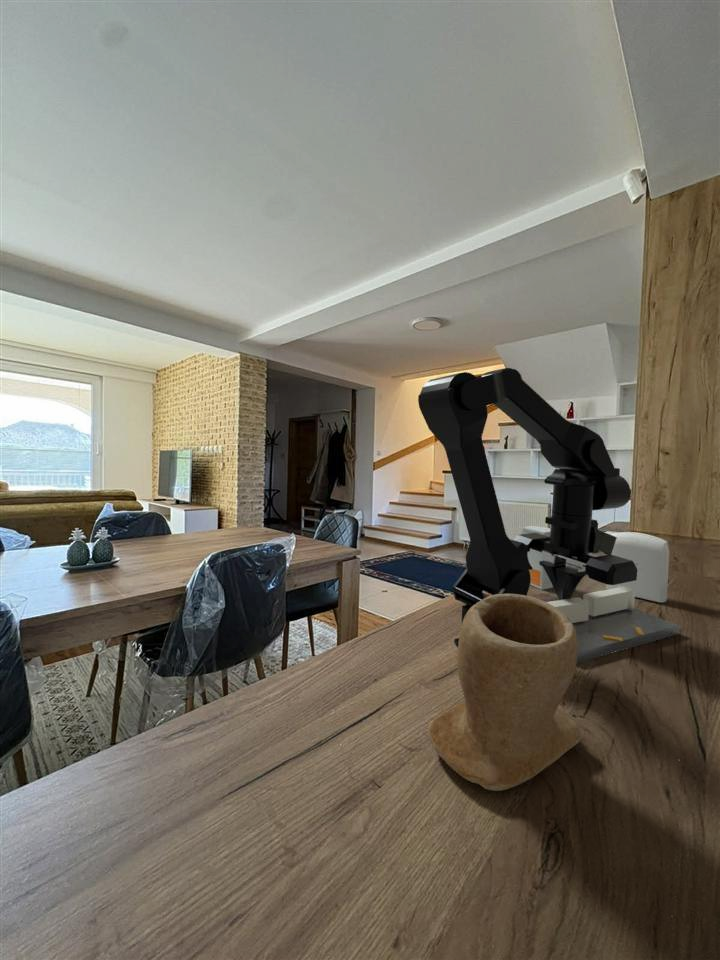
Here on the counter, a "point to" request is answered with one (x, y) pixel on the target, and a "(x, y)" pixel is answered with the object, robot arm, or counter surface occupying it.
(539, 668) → the stone cup
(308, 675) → the counter surface
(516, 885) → the counter surface
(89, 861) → the counter surface
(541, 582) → the skincare box
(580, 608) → the white rectangular block
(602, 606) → the off-white long bar
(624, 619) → the levelling base
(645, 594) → the photo printer
